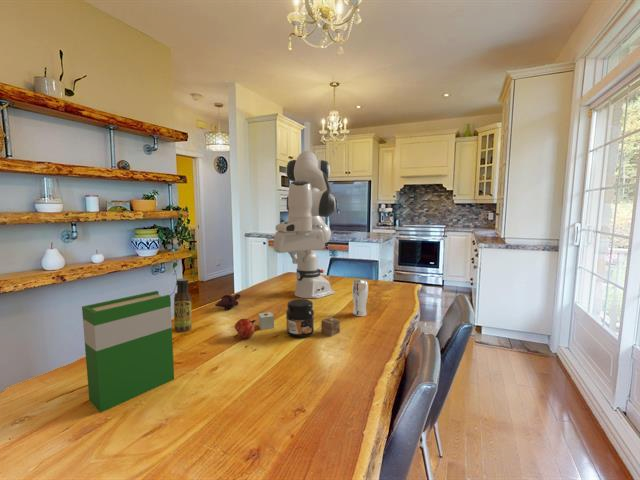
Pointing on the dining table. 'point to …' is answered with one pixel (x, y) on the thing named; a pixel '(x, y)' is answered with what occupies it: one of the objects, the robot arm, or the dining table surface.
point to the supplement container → (300, 318)
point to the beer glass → (360, 297)
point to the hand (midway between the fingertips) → (300, 262)
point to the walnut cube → (330, 326)
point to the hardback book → (127, 347)
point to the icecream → (228, 301)
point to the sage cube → (266, 320)
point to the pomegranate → (245, 328)
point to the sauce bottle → (182, 306)
